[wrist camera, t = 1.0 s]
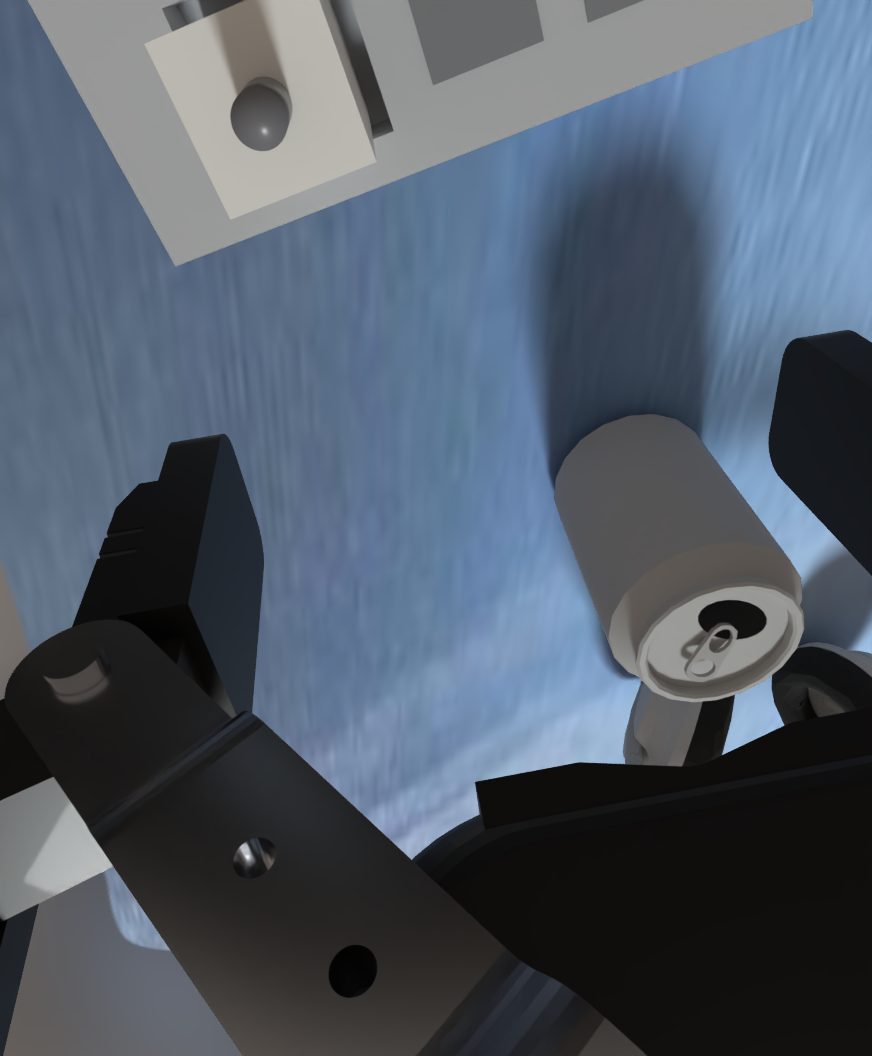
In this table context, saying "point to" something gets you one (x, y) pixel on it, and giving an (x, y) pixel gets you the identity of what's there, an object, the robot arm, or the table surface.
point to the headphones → (701, 727)
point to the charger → (267, 99)
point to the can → (677, 561)
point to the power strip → (389, 84)
